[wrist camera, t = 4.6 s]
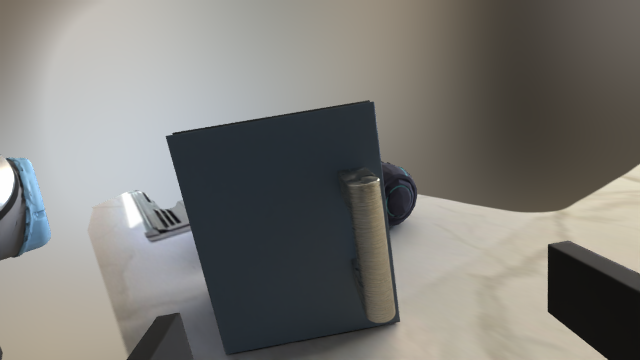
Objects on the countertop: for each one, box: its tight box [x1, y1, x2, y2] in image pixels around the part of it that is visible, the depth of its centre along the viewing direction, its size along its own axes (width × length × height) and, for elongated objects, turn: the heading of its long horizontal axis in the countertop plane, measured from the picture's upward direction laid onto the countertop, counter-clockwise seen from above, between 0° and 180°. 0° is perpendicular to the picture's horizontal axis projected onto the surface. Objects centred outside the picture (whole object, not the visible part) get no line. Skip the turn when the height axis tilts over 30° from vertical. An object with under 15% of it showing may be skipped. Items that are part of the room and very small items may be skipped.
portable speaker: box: [381, 161, 417, 226], centre depth 57 cm, size 25×10×10 cm, turn 19°
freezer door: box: [166, 102, 400, 354], centre depth 23 cm, size 7×16×20 cm, turn 94°
